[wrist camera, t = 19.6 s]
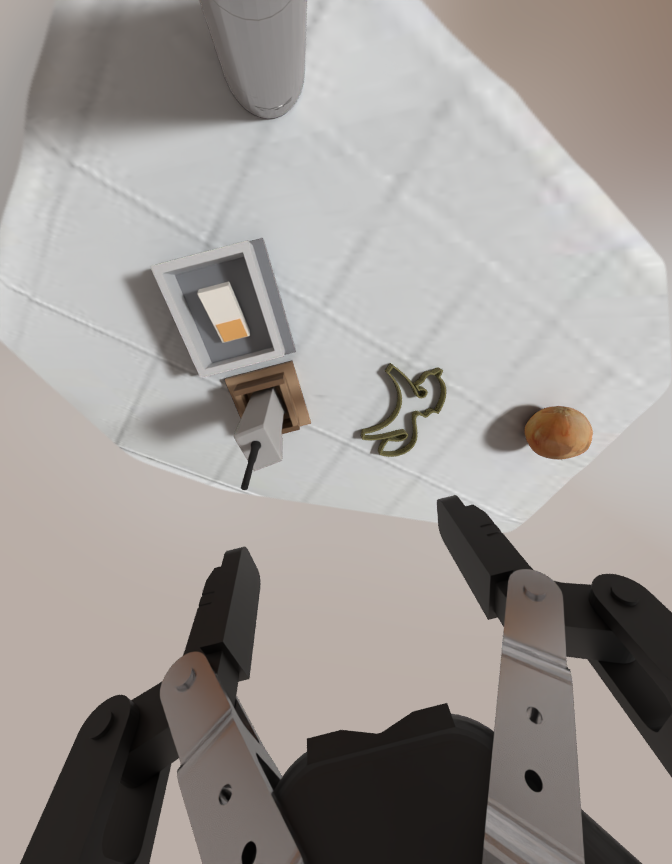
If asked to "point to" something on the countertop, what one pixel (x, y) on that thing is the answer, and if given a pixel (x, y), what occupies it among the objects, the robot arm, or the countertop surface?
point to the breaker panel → (255, 297)
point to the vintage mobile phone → (261, 431)
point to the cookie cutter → (401, 432)
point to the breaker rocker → (224, 311)
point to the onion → (558, 432)
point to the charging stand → (286, 386)
